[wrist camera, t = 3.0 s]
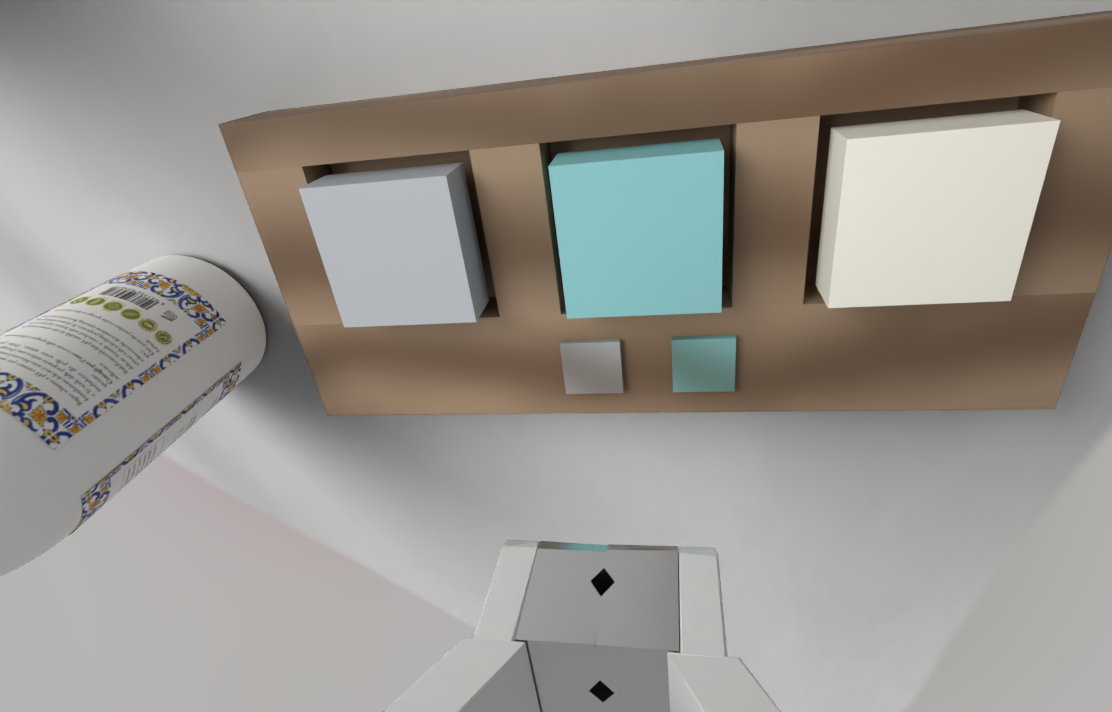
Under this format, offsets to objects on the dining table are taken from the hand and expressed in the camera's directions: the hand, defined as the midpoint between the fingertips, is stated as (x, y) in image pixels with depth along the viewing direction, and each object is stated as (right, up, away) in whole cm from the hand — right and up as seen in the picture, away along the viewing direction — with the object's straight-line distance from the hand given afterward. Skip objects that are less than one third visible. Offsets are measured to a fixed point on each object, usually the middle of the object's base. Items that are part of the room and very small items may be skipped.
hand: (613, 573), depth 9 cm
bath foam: (-18, +5, +22) cm, 29 cm away
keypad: (+3, +8, +16) cm, 18 cm away
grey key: (-7, +8, +15) cm, 18 cm away
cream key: (+11, +8, +11) cm, 18 cm away
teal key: (+2, +8, +13) cm, 16 cm away
